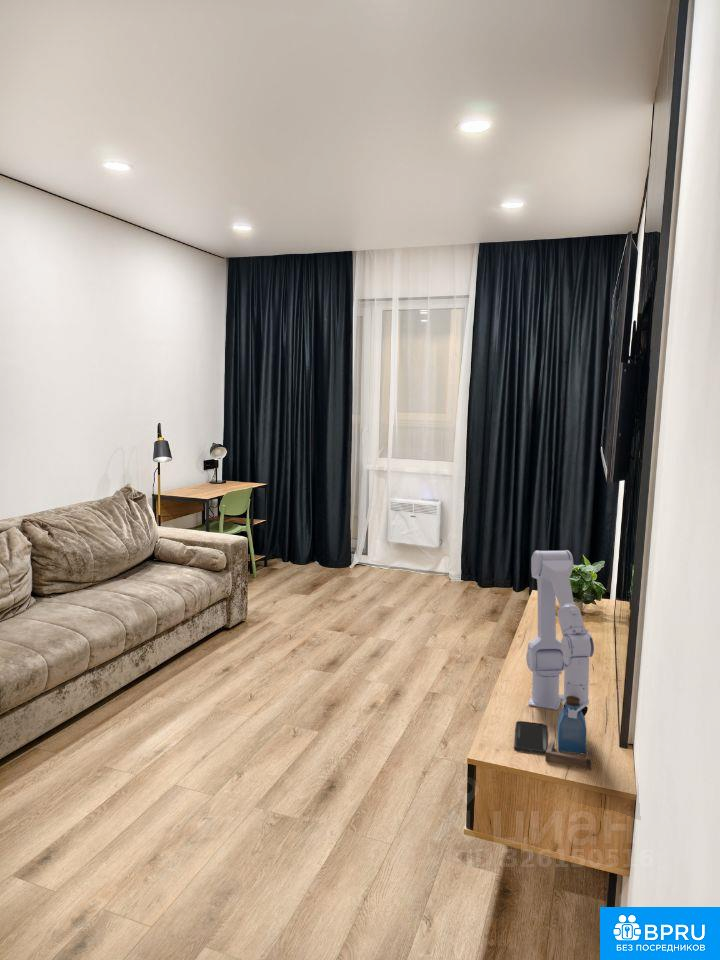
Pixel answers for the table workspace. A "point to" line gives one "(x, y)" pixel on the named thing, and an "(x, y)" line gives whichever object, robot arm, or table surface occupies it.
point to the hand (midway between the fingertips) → (574, 734)
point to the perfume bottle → (571, 728)
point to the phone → (530, 737)
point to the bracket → (568, 757)
